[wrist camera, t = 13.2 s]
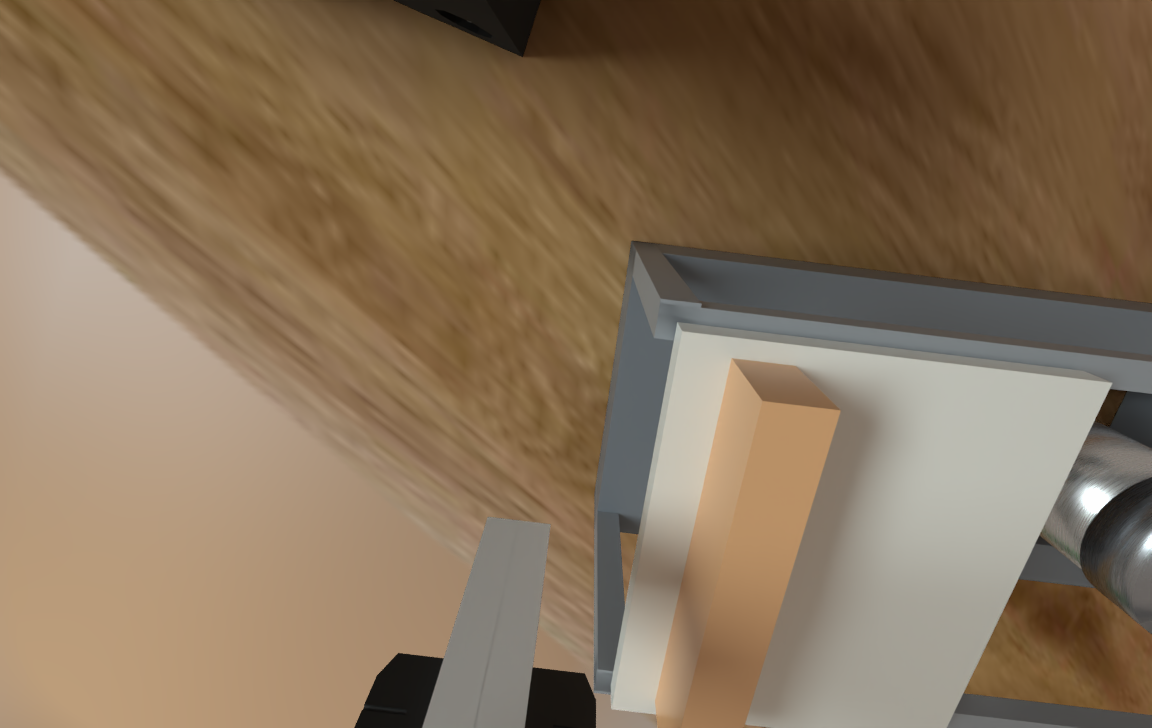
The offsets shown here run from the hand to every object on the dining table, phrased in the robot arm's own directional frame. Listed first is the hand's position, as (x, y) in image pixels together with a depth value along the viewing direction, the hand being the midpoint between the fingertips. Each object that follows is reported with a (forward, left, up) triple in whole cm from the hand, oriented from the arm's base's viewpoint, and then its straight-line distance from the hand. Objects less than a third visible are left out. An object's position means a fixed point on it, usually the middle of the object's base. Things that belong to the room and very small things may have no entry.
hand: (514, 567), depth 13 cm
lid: (0, +8, -2) cm, 8 cm away
